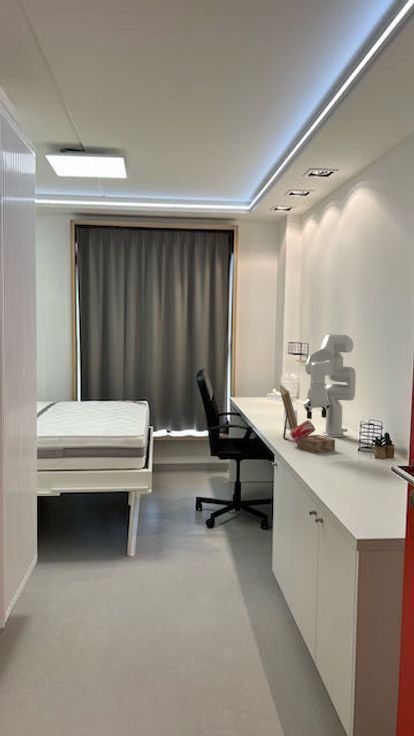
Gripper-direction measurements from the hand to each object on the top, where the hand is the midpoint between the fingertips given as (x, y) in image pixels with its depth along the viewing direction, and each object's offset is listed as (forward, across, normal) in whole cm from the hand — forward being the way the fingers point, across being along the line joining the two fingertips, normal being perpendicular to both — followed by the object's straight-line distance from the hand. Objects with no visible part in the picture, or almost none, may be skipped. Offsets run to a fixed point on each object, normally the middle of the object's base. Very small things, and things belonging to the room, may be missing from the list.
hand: (316, 418), depth 282 cm
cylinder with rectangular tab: (+17, -24, -56) cm, 63 cm away
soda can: (+4, -2, -6) cm, 8 cm away
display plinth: (+17, 0, 0) cm, 17 cm away
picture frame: (+17, -3, -28) cm, 33 cm away
